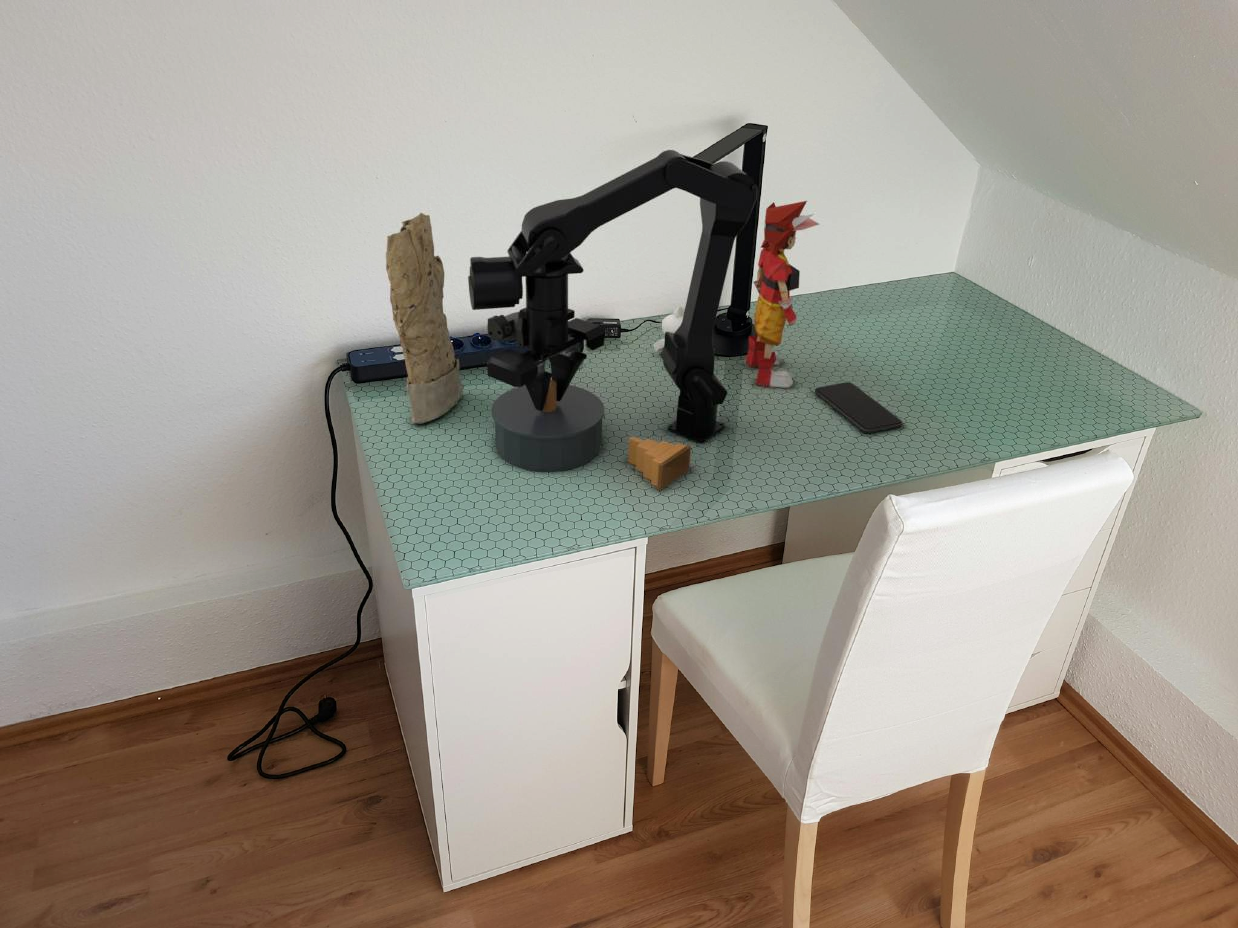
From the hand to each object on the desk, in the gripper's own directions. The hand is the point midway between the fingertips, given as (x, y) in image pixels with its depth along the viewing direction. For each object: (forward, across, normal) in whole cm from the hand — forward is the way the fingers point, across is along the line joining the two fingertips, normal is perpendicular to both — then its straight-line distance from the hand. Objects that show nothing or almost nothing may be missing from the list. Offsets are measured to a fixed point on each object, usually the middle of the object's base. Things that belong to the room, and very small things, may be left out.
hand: (548, 405), depth 141 cm
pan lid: (+1, 0, 0) cm, 1 cm away
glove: (+7, +3, -22) cm, 23 cm away
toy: (+7, -42, +13) cm, 44 cm away
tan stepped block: (+6, -4, +16) cm, 18 cm away
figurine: (+7, -34, -1) cm, 35 cm away
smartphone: (+7, -40, +30) cm, 50 cm away
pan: (+6, 0, 0) cm, 6 cm away
